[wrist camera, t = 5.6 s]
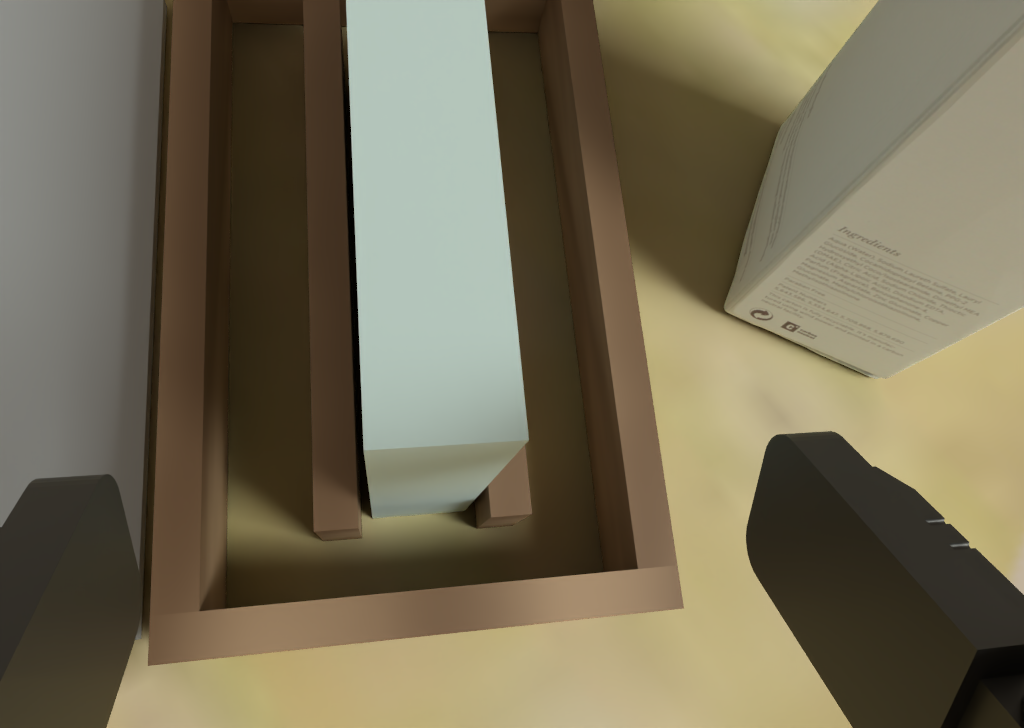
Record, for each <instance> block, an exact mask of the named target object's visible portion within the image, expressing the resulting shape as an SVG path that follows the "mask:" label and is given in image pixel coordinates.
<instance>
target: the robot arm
mask: <svg viewBox="0 0 1024 728" xmlns="http://www.w3.org/2000/svg"><path fill="white" fill-rule="evenodd" d="M746 544H747V551H748V556H749V560H750V563H751V566H752V568H753V571H754V573H755V574H756V576H757V578H758V579H759V581H760V583H761V584H762V586H763V587H764V589H765V590H766V592H767V594H768V595H769V597H770V598H771V600H772V601H773V603H774V605H775V606H776V608H777V609H778V611H779V612H780V614H781V616H782V617H783V619H784V620H785V622H786V623H787V625H788V627H789V628H790V630H791V631H792V633H793V634H794V636H795V638H796V639H797V641H798V642H799V644H800V645H801V647H802V649H803V650H804V652H805V653H806V655H807V656H808V658H809V660H810V661H811V663H812V664H813V666H814V667H815V669H816V671H817V672H818V674H819V675H820V677H821V678H822V680H823V682H824V683H825V685H826V686H827V688H828V689H829V691H830V693H831V694H832V696H833V697H834V699H835V700H836V702H837V704H838V705H839V707H840V708H841V710H842V711H843V713H844V715H845V716H846V718H847V719H848V721H849V722H850V724H851V726H852V727H853V728H1024V595H1023V594H1022V593H1021V592H1020V591H1019V590H1018V589H1017V588H1016V587H1015V586H1014V585H1013V584H1012V583H1011V582H1010V581H1009V580H1008V579H1007V578H1006V577H1005V576H1004V575H1003V574H1002V573H1000V572H999V571H998V570H997V569H996V568H995V567H994V566H993V565H992V564H991V563H990V562H989V561H988V560H987V559H986V558H985V557H984V556H983V555H982V554H981V553H980V552H979V551H978V550H977V549H976V548H973V549H971V548H970V547H969V542H968V541H967V540H966V539H965V538H964V537H963V536H962V535H961V534H960V533H959V532H958V531H957V530H956V529H955V528H954V527H953V526H952V525H951V524H945V522H944V517H943V516H942V515H941V514H940V513H939V512H937V511H936V510H935V509H934V508H933V507H932V506H931V505H930V504H929V503H928V502H927V501H926V500H925V499H924V498H923V497H922V496H921V495H920V494H919V493H918V492H917V491H916V490H915V489H913V488H911V487H909V486H908V485H906V484H904V483H903V482H901V481H899V480H898V479H896V478H894V477H893V476H891V475H889V474H887V473H886V472H884V471H882V470H881V469H879V468H877V467H872V466H871V465H870V464H869V463H868V462H867V461H866V460H865V459H864V458H863V457H862V456H861V455H860V454H859V453H858V452H857V451H856V450H855V449H854V448H853V447H852V446H851V445H850V444H849V443H848V442H847V441H846V440H845V439H844V438H843V437H842V436H840V435H839V434H837V433H836V432H832V431H828V432H812V433H796V434H780V435H776V436H774V437H773V438H772V439H771V440H770V441H769V443H768V445H767V448H766V451H765V455H764V459H763V463H762V467H761V471H760V475H759V479H758V483H757V487H756V492H755V496H754V500H753V504H752V508H751V512H750V516H749V520H748V524H747V531H746ZM141 605H142V589H141V579H140V573H139V569H138V565H137V561H136V557H135V553H134V549H133V544H132V540H131V536H130V532H129V528H128V524H127V520H126V515H125V511H124V507H123V503H122V499H121V495H120V491H119V487H118V485H117V482H116V481H115V479H114V478H113V477H112V476H111V475H109V474H103V475H87V476H71V477H54V478H38V479H35V480H33V481H31V482H30V483H29V484H28V486H27V487H26V489H25V490H24V492H23V493H22V495H21V497H20V498H19V500H18V501H17V503H16V505H15V506H14V508H13V510H12V511H11V513H10V514H9V516H8V518H7V519H6V521H5V522H4V524H3V526H2V527H0V728H106V727H107V724H108V721H109V718H110V714H111V711H112V708H113V705H114V702H115V699H116V696H117V693H118V690H119V687H120V684H121V681H122V678H123V675H124V671H125V668H126V665H127V662H128V659H129V656H130V653H131V650H132V647H133V644H134V641H135V638H136V635H137V631H138V627H139V622H140V616H141Z"/></svg>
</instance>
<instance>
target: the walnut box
mask: <svg viewBox="0 0 1024 728" xmlns="http://www.w3.org/2000/svg"><path fill="white" fill-rule="evenodd" d="M484 1H485V11H486V21H487V30H488V31H499V32H528V33H538V40H539V48H540V56H541V64H542V73H543V81H544V89H545V97H546V105H547V113H548V121H549V129H550V138H551V146H552V154H553V162H554V170H555V178H556V186H557V194H558V202H559V211H560V219H561V227H562V235H563V243H564V251H565V259H566V267H567V276H568V284H569V292H570V300H571V308H572V316H573V324H574V332H575V340H576V349H577V357H578V365H579V373H580V381H581V389H582V397H583V405H584V414H585V422H586V430H587V438H588V446H589V454H590V462H591V470H592V478H593V487H594V495H595V503H596V511H597V519H598V527H599V535H600V543H601V552H602V560H603V568H604V572H602V573H592V574H582V575H571V576H561V577H550V578H540V579H530V580H519V581H509V582H498V583H488V584H478V585H467V586H457V587H446V588H436V589H426V590H415V591H405V592H394V593H384V594H374V595H363V596H353V597H342V598H332V599H322V600H311V601H301V602H290V603H280V604H270V605H259V606H249V607H239V608H228V609H226V578H227V489H228V401H229V313H230V224H231V136H232V48H233V22H237V23H266V24H295V25H304V70H305V120H306V170H307V220H308V270H309V320H310V370H311V420H312V470H313V520H314V532H315V533H316V534H317V535H318V536H319V537H320V538H321V539H322V540H323V541H332V540H344V539H356V538H362V525H361V498H360V471H359V445H358V418H357V391H356V364H355V338H354V311H353V284H352V258H351V231H350V204H349V177H348V151H347V124H346V97H345V70H344V54H343V41H342V28H341V26H347V14H346V0H173V21H172V47H171V74H170V100H169V126H168V153H167V179H166V205H165V231H164V258H163V284H162V310H161V337H160V363H159V389H158V415H157V442H156V468H155V494H154V520H153V547H152V573H151V599H150V626H149V652H148V666H150V665H159V664H168V663H178V662H187V661H196V660H206V659H215V658H224V657H234V656H243V655H252V654H262V653H271V652H280V651H290V650H299V649H308V648H318V647H327V646H336V645H346V644H355V643H364V642H374V641H383V640H392V639H402V638H411V637H420V636H430V635H439V634H448V633H458V632H467V631H477V630H486V629H495V628H505V627H514V626H523V625H533V624H542V623H551V622H561V621H570V620H579V619H589V618H598V617H607V616H617V615H626V614H635V613H645V612H654V611H663V610H673V609H682V608H684V606H683V600H682V593H681V586H680V580H679V573H678V566H677V560H676V553H675V546H674V540H673V533H672V526H671V520H670V513H669V506H668V500H667V493H666V486H665V479H664V473H663V466H662V459H661V453H660V446H659V439H658V433H657V426H656V419H655V413H654V406H653V399H652V393H651V386H650V379H649V373H648V366H647V359H646V353H645V346H644V339H643V332H642V326H641V319H640V312H639V306H638V299H637V292H636V286H635V279H634V272H633V266H632V259H631V252H630V246H629V239H628V232H627V226H626V219H625V212H624V206H623V199H622V192H621V186H620V179H619V172H618V165H617V159H616V152H615V145H614V139H613V132H612V125H611V119H610V112H609V105H608V99H607V92H606V85H605V79H604V72H603V65H602V59H601V52H600V45H599V39H598V32H597V25H596V18H595V12H594V5H593V0H484ZM474 501H475V513H476V526H477V528H489V527H501V526H512V525H514V524H516V523H518V522H519V521H521V520H523V519H525V518H526V517H528V516H530V515H531V514H532V507H531V497H530V487H529V477H528V467H527V457H526V447H525V445H524V446H523V447H522V448H521V449H520V451H519V452H518V453H517V454H516V455H515V456H514V457H513V458H512V459H511V460H510V462H509V463H508V464H507V465H506V466H505V467H504V468H503V469H502V470H501V471H500V473H499V474H498V475H497V476H496V477H495V478H494V479H493V480H492V481H491V482H490V484H489V485H488V486H487V487H486V488H485V489H484V490H483V491H482V492H481V493H480V494H479V496H478V497H477V498H476V499H475V500H474Z"/></svg>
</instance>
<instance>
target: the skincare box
mask: <svg viewBox="0 0 1024 728" xmlns="http://www.w3.org/2000/svg"><path fill="white" fill-rule="evenodd" d="M1023 307H1024V0H879V1H878V2H877V3H876V5H875V6H874V7H873V8H872V10H871V11H870V12H869V14H868V15H867V16H866V18H865V19H864V20H863V21H862V23H861V24H860V25H859V27H858V28H857V29H856V30H855V32H854V33H853V34H852V36H851V37H850V38H849V39H848V41H847V42H846V43H845V45H844V46H843V47H842V48H841V50H840V51H839V52H838V54H837V55H836V56H835V58H834V59H833V60H832V62H831V63H830V64H829V65H828V67H827V68H826V69H825V71H824V72H823V73H822V74H821V76H820V77H819V78H818V80H817V81H816V82H815V83H814V85H813V86H812V87H811V89H810V90H809V91H808V92H807V94H806V95H805V96H804V98H803V99H802V100H801V101H800V103H799V104H798V105H797V107H796V108H795V109H794V110H793V112H792V113H791V114H790V116H789V117H788V118H787V119H786V121H785V122H784V123H783V124H782V125H781V127H780V129H779V132H778V134H777V137H776V140H775V143H774V146H773V150H772V153H771V156H770V159H769V163H768V166H767V169H766V172H765V175H764V178H763V181H762V184H761V187H760V190H759V193H758V196H757V199H756V203H755V206H754V209H753V212H752V215H751V219H750V222H749V225H748V228H747V231H746V235H745V238H744V241H743V245H742V249H741V253H740V257H739V260H738V264H737V269H736V273H735V276H734V279H733V282H732V285H731V288H730V290H729V293H728V296H727V299H726V302H725V305H724V310H725V311H726V312H728V313H730V314H731V315H733V316H736V317H738V318H740V319H742V320H744V321H747V322H749V323H751V324H753V325H756V326H759V327H762V328H764V329H766V330H769V331H771V332H773V333H775V334H778V335H780V336H782V337H784V338H786V339H788V340H790V341H793V342H795V343H797V344H799V345H801V346H804V347H806V348H808V349H810V350H812V351H814V352H816V353H818V354H820V355H822V356H824V357H827V358H829V359H831V360H833V361H836V362H838V363H840V364H843V365H845V366H847V367H849V368H851V369H854V370H856V371H858V372H860V373H862V374H864V375H867V376H869V377H872V378H885V379H886V378H889V377H891V376H893V375H895V374H897V373H899V372H901V371H903V370H904V369H906V368H908V367H910V366H912V365H914V364H916V363H918V362H920V361H922V360H924V359H926V358H928V357H930V356H932V355H934V354H936V353H937V352H939V351H941V350H943V349H945V348H947V347H949V346H951V345H953V344H954V343H956V342H958V341H960V340H962V339H964V338H966V337H968V336H970V335H972V334H973V333H975V332H977V331H979V330H981V329H983V328H985V327H987V326H989V325H991V324H993V323H994V322H996V321H998V320H1000V319H1002V318H1004V317H1006V316H1008V315H1010V314H1012V313H1014V312H1016V311H1018V310H1020V309H1021V308H1023Z"/></svg>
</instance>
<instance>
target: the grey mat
mask: <svg viewBox="0 0 1024 728" xmlns="http://www.w3.org/2000/svg"><path fill="white" fill-rule="evenodd" d="M166 18H167V6H166V3H165V0H0V527H2V526H3V524H4V522H5V521H6V519H7V518H8V516H9V514H10V513H11V511H12V510H13V508H14V506H15V505H16V503H17V501H18V500H19V498H20V497H21V495H22V493H23V492H24V490H25V489H26V487H27V486H28V484H29V483H30V482H31V481H33V480H35V479H38V478H54V477H71V476H87V475H103V474H109V475H111V476H112V477H113V478H114V479H115V481H116V482H117V485H118V487H119V491H120V495H121V499H122V503H123V507H124V511H125V515H126V520H127V524H128V528H129V532H130V536H131V540H132V544H133V549H134V553H135V557H136V561H137V565H138V569H139V573H140V579H141V589H142V605H141V616H140V622H139V627H138V631H137V635H136V638H135V640H137V639H141V631H142V606H143V582H144V557H145V533H146V508H147V484H148V459H149V435H150V410H151V386H152V361H153V337H154V312H155V288H156V263H157V239H158V214H159V189H160V165H161V140H162V116H163V91H164V67H165V42H166Z"/></svg>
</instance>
